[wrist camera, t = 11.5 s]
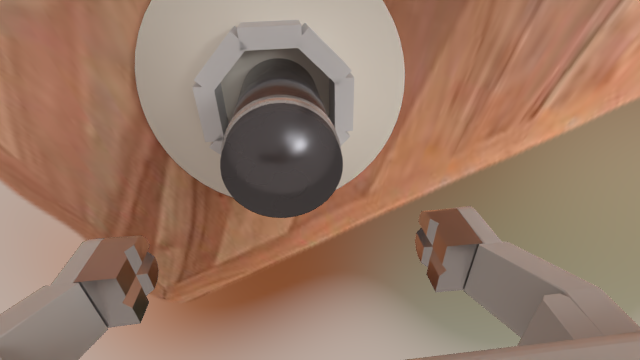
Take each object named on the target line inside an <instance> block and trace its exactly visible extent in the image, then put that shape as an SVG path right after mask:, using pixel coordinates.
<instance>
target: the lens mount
mask: <svg viewBox="0 0 640 360" xmlns="http://www.w3.org/2000/svg"><path fill="white" fill-rule="evenodd" d="M273 58H283V59H288V60H292V61H294V62H296V63H298V64H299V65H301V66H302V67H304V68H305V69H306V70H307V71H308V72H309V74H310V75H311V77H312V78H313V80H314V82H315V85H316V88H317V90H318V93H319V95H320V98H321V100H322V103H323V106H324V108H325V111H326V113H327V116H328V118H329V119H330V120H331V122H332V124H333V126H334V128H335V130H336V133H337V135H338V138H339V141H340V146H341V153H342V157H343V171H342V175H341V179H340V182H339V184H338V186H337V188H336V189H338V188H340V187H342V186H343V185H345V184H346V183H348V182H349V181H351V180H352V179H354V178H355V177H356V176H357V175H359V174H360V173H361V172H362V171H363V170H365V168H366V167H367V166H368V165H369V164H370V163H371V162H372V161H373V160H374V159H375V158H376V156H377V155H378V154H379V152H380V151H381V150H382V149H383V147H384V145H385V144H386V142H387V140H388V139H389V137H390V135H391V133H392V131H393V128H394V126H395V124H396V122H397V119H398V115H399V112H400V109H401V105H402V99H403V94H404V83H405V68H404V56H403V51H402V46H401V42H400V37H399V35H398V32H397V29H396V26H395V23H394V21H393V19H392V17H391V15H390V13H389V11H388V9H387V7H386V5H385V3H384V2H383V0H151V2H150V4H149V6H148V8H147V10H146V12H145V14H144V17H143V20H142V23H141V26H140V29H139V32H138V38H137V44H136V50H135V76H136V85H137V91H138V95H139V99H140V103H141V106H142V109H143V112H144V114H145V117H146V119H147V121H148V124H149V126H150V127H151V129H152V131H153V133H154V135H155V136H156V138H157V140H158V141H159V142H160V144H161V145H162V147H163V148H164V149H165V151H166V152H167V153H168V154H169V155H170V156H171V157H172V159H173V160H174V161H175V162H176V163H177V164H178V165H179V166H180V167H181V168H183V169H184V170H185V171H186V172H187V173H188V174H190V175H191V176H192V177H194V178H195V179H197V180H198V181H200V182H201V183H203V184H204V185H206V186H208V187H210V188H212V189H214V190H216V191H218V192H220V193H223V194H225V195H228V196H230V197H232V196H231V194H230V193H229V192H228V190H227V188H226V186H225V184H224V182H223V179H222V176H221V170H220V159H221V147H222V142H223V139H224V136H225V133H226V129H227V127H228V125H229V123H230V121H231V120H232V117H233V114H234V111H235V108H236V104H237V101H238V98H239V94H240V91H241V88H242V85H243V82H244V79H245V77H246V75H247V74H248V73H249V71H250V70H251V69H252V68H253V67H254V66H256V65H257V64H259V63H260V62H263V61H265V60H268V59H273Z"/></svg>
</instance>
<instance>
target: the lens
mask: <svg viewBox="0 0 640 360" xmlns="http://www.w3.org/2000/svg"><path fill="white" fill-rule="evenodd" d="M220 170H221V176H222V179H223V182H224V184H225V186H226V188H227V190H228V192H229V193H230V194H231V196H232V197H233V198H234V199H235V200H236V201H237V202H238V203H239V204H241V205H242V206H244V207H245V208H247V209H248V210H250V211H252V212H255V213H257V214H260V215H264V216H268V217H276V218H287V217H294V216H299V215H302V214H305V213H308V212H310V211H312V210H314V209H316V208H317V207H319V206H320V205H322V204H323V203H324V202H325V201H327V200H328V198H329V197H330V196H331V195H332V194H333V193H334V191H335V190H336V188H337V186H338V184H339V182H340V179H341V175H342V171H343V157H342V153H341V146H340V141H339V138H338V135H337V133H336V130H335V128H334V126H333V124H332V122H331V120H330V119H329V118H328V116H327V113H326V111H325V108H324V106H323V103H322V100H321V98H320V95H319V93H318V90H317V88H316V85H315V82H314V80H313V78H312V77H311V75H310V74H309V72H308V71H307V70H306V69H305V68H304V67H302V66H301V65H299V64H298V63H296V62H294V61H292V60H288V59H283V58H273V59H268V60H265V61H263V62H260V63H259V64H257V65H256V66H254V67H253V68H252V69H251V70H250V71H249V73H248V74H247V75H246V77H245V79H244V82H243V85H242V88H241V91H240V94H239V98H238V101H237V104H236V108H235V111H234V114H233V117H232V120H231V121H230V123H229V125H228V127H227V129H226V133H225V136H224V139H223V142H222V147H221V159H220Z"/></svg>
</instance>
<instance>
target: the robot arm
mask: <svg viewBox="0 0 640 360" xmlns="http://www.w3.org/2000/svg"><path fill="white" fill-rule="evenodd" d="M418 222H419V224H420V225H421V229H420V230H419V231H418V232H417V233H416V239H415V243H416V251H417V254H418V257H419V259H420V261H421V263H422V264H424V265H425V266H427V267H428V270H427V276H428V278H429V280H430V282H431V284H432V286H433V288H434V290H435V292H442V291H454V290H464V292H465V293H466V294H468V295H469V296H471V298H473V299H474V300H475V301H476V302H478V303H479V304H480V305H481V306H483V307H484V308H485V309H486V310H488V311H489V312H490V313H491V314H492V315H494V316H495V317H496V318H497V319H499V320H500V321H501V322H502V323H504V324H505V325H506V326H507V327H508V328H510V329H511V330H512V331H513V332H515V333H516V334H517V335H518V336H520V337H521V340H520V342H519V343H518V345H517V346H514V347H506V348H498V349H489V350H481V351H473V352H464V353H456V354H448V355H440V356H432V357H423V358H415V359H407V360H640V327H639V326H638V325H637V324H636V323H635V322H634V321H633V320H632V319H631V318H630V317H629V316H628V315H627V314H626V313H625V312H624V311H623V310H622V309H621V308H620V307H619V306H618V305H617V304H616V303H615V302H614V301H613V300H612V299H611V298H610V297H609V296H608V295H607V294H606V293H605V292H604V291H603V290H602V289H601V288H599V287H597V286H595V285H593V284H591V283H589V282H587V281H585V280H583V279H581V278H579V277H577V276H575V275H573V274H571V273H569V272H567V271H565V270H563V269H561V268H559V267H557V266H555V265H553V264H551V263H549V262H547V261H545V260H543V259H541V258H539V257H537V256H535V255H533V254H531V253H529V252H527V251H525V250H523V249H521V248H519V247H517V246H515V245H513V244H511V243H509V242H502V241H501V240H500V239H499V238H498V236H497V235H496V234H495V233H494V232H493V230H492V229H491V228H490V227H489V226H488V224H487V223H486V222H485V221H484V220H483V218H482V217H481V216H480V215H479V214H478V212H477V211H476V210H475V209H474V208H473V207H471V206H466V207H457V208H451V209H440V210H430V211H422V212H421V214H420V216H419V221H418ZM149 247H150V244H149V242H148V240H147V238H146V237H144V236H128V237H112V238H101V239H88V240H86V241H84V242H82V243H81V245H80V246H79V247H78V249H77V250H76V252H75V253H74V254H73V256H72V257H71V258H70V260H69V261H68V262H67V264H66V265H65V266H64V268H63V269H62V270H61V272H60V273H59V274H58V276H57V277H56V278H55V280H54V281H53V282H52V284H51V285H50V286H43V287H42V288H40V289H39V290H37V291H36V292H34V293H32V294H31V295H29V296H28V297H26V298H25V299H23V300H22V301H20V302H19V303H17V304H15V305H14V306H12V307H11V308H9V309H8V310H6V311H4V312H3V313H1V314H0V360H78V359H79V358H80V357H81V356H82V355H83V354H84V353H85V352H86V351H87V350H88V349H89V348H90V347H91V346H92V345H93V344H94V343H95V342H96V341H97V340H98V339H99V338H100V337H101V336H102V335H103V334H104V333H105V332H106V331H107V330H108V328H109V327H115V326H124V325H131V324H138V323H141V321H142V318H143V316H144V313H145V311H146V308H147V306H148V304H149V301H148V299H147V297H146V296H147V295H148V294H149V293H150V292H151V291H153V290H154V288H155V286H156V283H157V280H158V271H159V270H158V264H157V261H156V258H155V257H154V256H153V255H151V254H150V253H148V252H147V251H148V249H149Z"/></svg>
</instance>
